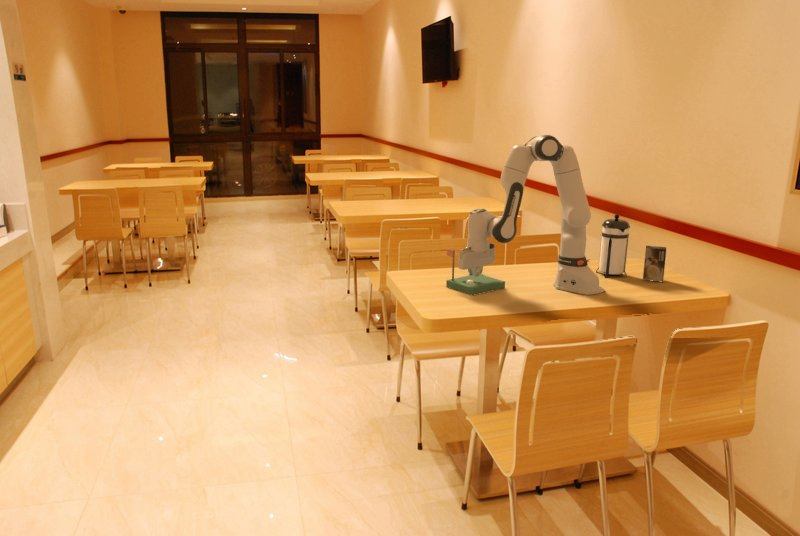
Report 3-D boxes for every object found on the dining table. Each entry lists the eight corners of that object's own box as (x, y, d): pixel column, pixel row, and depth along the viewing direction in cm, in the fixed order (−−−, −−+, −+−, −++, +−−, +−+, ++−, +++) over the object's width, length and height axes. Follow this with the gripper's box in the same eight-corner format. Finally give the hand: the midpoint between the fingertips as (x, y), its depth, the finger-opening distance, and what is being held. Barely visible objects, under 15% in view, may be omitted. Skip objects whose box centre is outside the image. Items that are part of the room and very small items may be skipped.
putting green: (504, 287, 278) (506, 251, 274) (472, 295, 266) (474, 256, 262) (474, 278, 292) (475, 243, 288) (442, 285, 280) (443, 248, 276)
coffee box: (663, 279, 295) (666, 246, 291) (663, 283, 290) (667, 249, 286) (642, 277, 299) (646, 245, 295) (642, 280, 293) (645, 247, 289)
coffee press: (632, 274, 305) (639, 214, 297) (619, 280, 293) (626, 217, 286) (599, 268, 316) (604, 210, 308) (585, 274, 304) (590, 213, 297)
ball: (469, 289, 273) (475, 289, 276) (470, 280, 273) (477, 280, 275) (463, 287, 276) (469, 287, 279) (464, 278, 276) (470, 278, 278)
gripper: (465, 250, 264) (464, 281, 268) (498, 244, 277) (496, 273, 280) (455, 247, 269) (454, 278, 273) (487, 241, 281) (486, 271, 285)
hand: (476, 276), depth 276 cm, fingers closed
